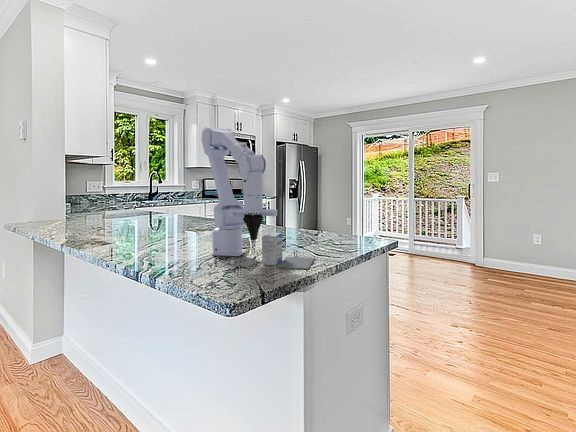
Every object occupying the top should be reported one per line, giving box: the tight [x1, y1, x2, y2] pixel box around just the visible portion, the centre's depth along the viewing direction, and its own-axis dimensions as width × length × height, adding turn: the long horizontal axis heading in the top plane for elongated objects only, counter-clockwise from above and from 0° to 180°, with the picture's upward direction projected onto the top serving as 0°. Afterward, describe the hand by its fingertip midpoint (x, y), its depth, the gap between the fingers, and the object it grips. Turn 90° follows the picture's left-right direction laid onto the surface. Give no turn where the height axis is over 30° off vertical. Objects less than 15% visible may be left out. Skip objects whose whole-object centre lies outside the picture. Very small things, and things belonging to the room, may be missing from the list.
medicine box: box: [261, 232, 283, 267], centre depth 112 cm, size 8×4×9 cm, turn 168°
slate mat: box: [276, 256, 316, 271], centre depth 110 cm, size 9×14×1 cm, turn 168°
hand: (253, 239), depth 112 cm, fingers closed
